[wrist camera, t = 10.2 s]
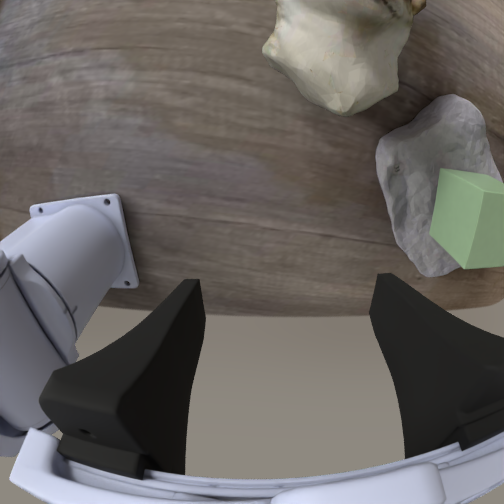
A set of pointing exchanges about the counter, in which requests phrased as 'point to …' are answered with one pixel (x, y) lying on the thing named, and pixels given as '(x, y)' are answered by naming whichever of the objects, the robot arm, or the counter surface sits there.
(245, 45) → the counter surface
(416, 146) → the stone block
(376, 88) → the ceramic sculpture
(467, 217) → the sage block
